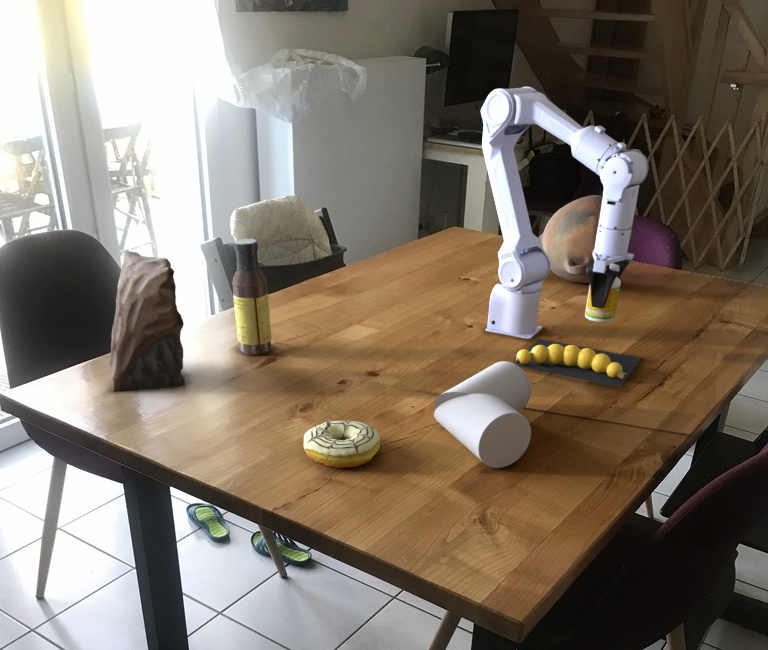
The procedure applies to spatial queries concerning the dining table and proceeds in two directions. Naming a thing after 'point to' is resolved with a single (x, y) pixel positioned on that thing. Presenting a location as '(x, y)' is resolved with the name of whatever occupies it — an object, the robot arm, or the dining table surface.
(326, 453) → the decorated donut
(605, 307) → the supplement bottle
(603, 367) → the yellow lumpy bar
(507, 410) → the bent grey cylinder
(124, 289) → the brown rock
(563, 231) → the jug
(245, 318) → the sauce bottle
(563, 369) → the placemat
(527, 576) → the dining table surface
